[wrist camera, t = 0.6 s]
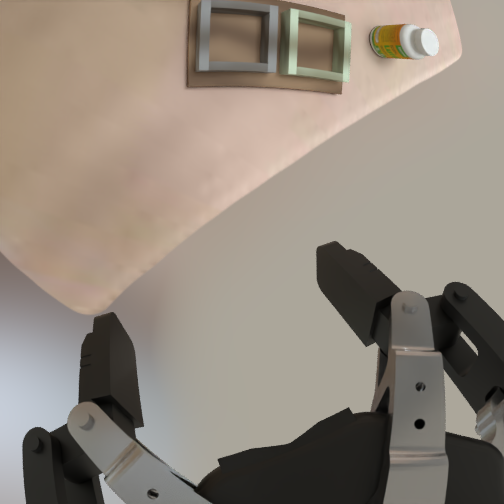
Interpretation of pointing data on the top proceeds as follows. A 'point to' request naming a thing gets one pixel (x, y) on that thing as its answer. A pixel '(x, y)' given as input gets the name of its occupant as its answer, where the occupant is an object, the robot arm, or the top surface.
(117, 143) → the top surface
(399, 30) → the supplement bottle
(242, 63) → the socket board
